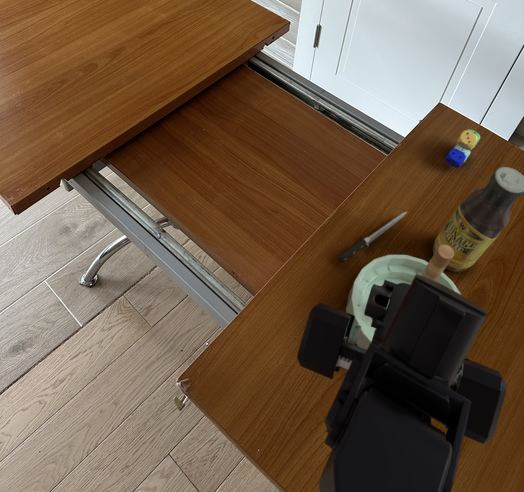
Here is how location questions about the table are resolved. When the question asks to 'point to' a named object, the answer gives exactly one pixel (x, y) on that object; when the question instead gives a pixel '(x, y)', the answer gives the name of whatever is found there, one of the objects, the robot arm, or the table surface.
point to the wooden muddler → (438, 262)
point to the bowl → (376, 273)
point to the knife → (369, 239)
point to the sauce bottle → (480, 218)
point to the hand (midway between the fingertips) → (398, 345)
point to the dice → (462, 148)
